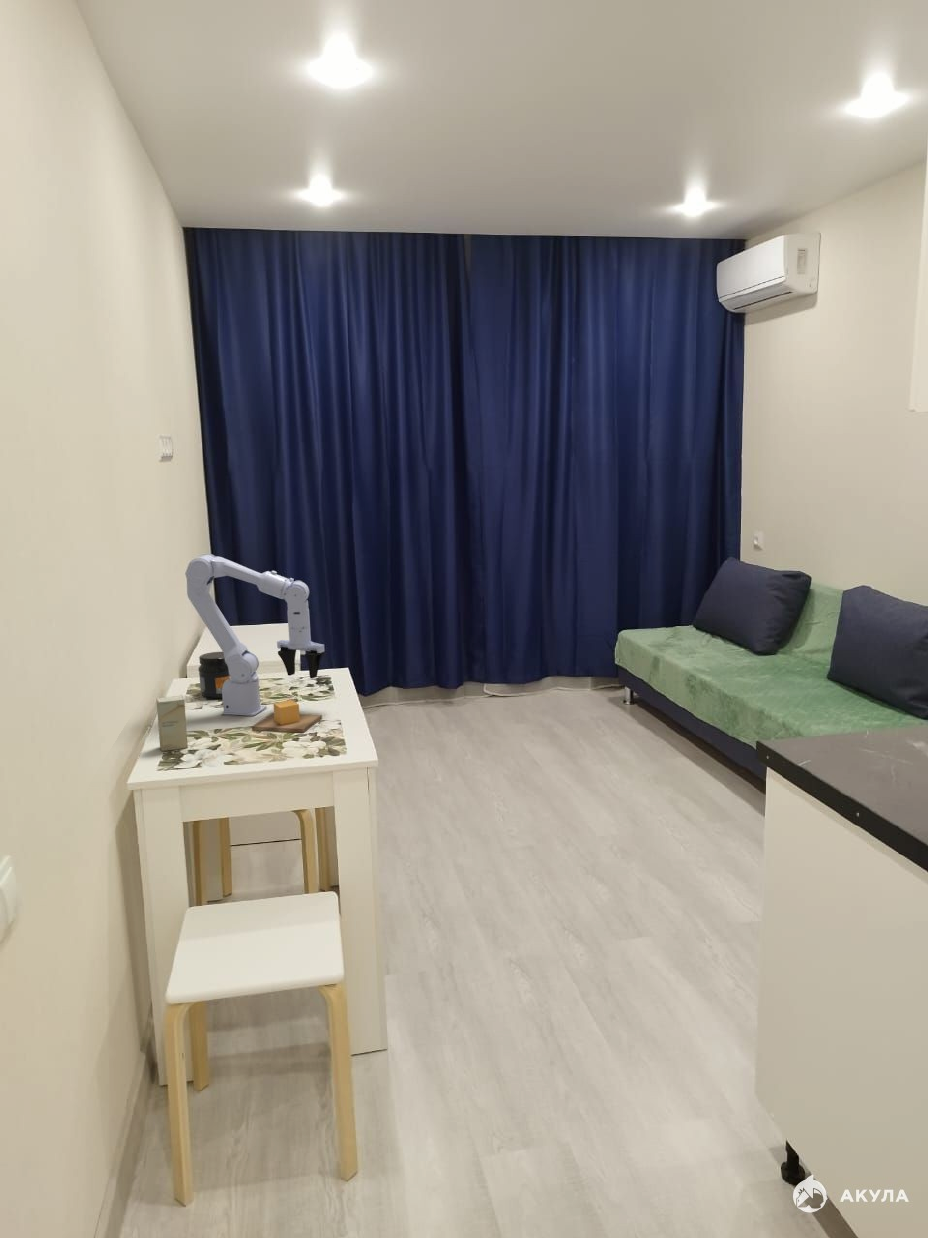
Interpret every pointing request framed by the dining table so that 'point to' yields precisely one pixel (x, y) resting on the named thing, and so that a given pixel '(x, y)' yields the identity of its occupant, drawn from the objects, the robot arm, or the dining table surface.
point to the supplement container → (213, 674)
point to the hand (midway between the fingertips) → (302, 676)
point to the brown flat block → (296, 727)
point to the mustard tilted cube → (286, 712)
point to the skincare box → (172, 723)
